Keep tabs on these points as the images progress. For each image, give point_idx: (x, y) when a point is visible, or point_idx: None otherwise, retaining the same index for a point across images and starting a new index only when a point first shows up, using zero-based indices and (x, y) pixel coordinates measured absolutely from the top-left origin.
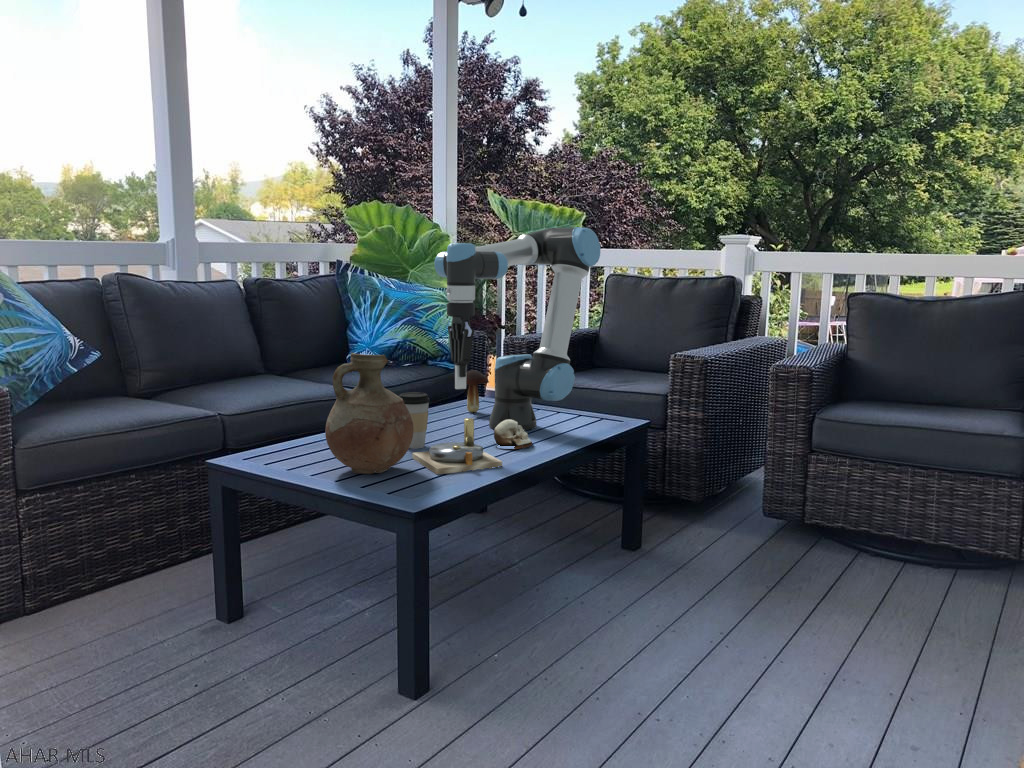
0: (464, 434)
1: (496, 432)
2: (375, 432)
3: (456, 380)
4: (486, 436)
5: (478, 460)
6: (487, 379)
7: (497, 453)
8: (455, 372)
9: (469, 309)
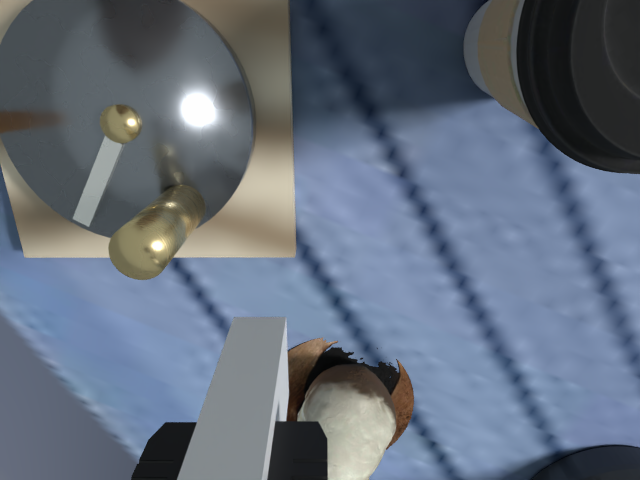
0: (165, 198)
1: (339, 386)
2: None
3: (232, 368)
4: (512, 383)
5: None
6: None
7: (240, 314)
8: (252, 435)
9: None
